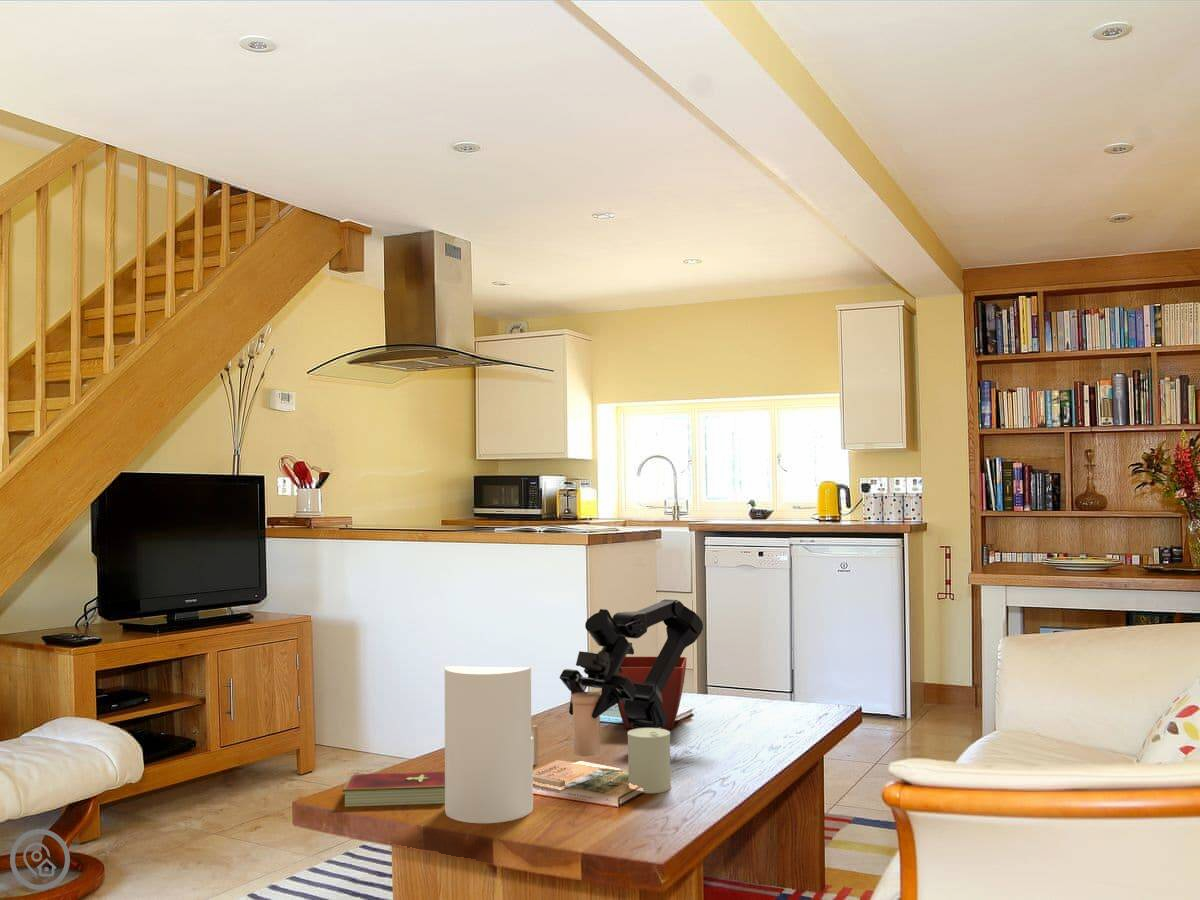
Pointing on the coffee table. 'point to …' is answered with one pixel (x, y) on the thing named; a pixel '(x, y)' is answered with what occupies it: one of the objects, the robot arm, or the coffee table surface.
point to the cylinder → (488, 743)
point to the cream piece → (547, 779)
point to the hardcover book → (395, 789)
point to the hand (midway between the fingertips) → (581, 715)
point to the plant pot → (671, 693)
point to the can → (649, 759)
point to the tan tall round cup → (585, 724)
